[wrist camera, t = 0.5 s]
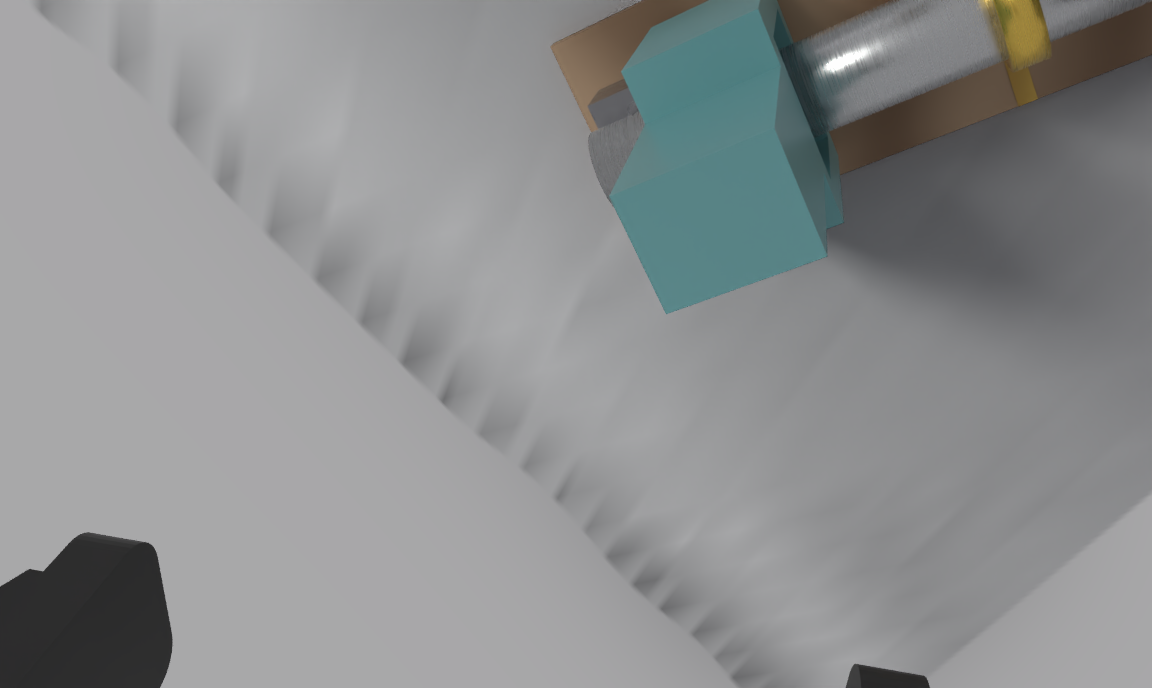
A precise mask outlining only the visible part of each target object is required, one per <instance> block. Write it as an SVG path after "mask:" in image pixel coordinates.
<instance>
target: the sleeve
mask: <svg viewBox="0 0 1152 688" xmlns="http://www.w3.org/2000/svg"><path fill="white" fill-rule="evenodd" d="M793 43H794V42H793V40H792V37H791V34H790V32H789V29H788V27H787V24H786V22H785V19H784V17H783V14H782V12H781V9H780V7H779V4H778V2H777V0H708V1H706V2H704V3H702V4H700V5H698V6H696V7H694V8H691V9H689V10H687V11H685V12H683V13H681V14H679V15H676V16H674V17H672V18H670V19H668V20H666V21H664V22H662V23H659V24H657V25H655V26H653V27H651V29H650V30H649V31H648V33H647V34H646V36H645V37H644V39H643V40H642V42H641V43H640V45H639V46H638V47H637V49H636V50H635V52H634V53H633V55H632V56H631V58H630V59H629V61H628V62H627V64H626V65H625V66H624V68H623V69H622V71H621V73H622V75H623V77H624V79H625V81H626V84H627V86H628V88H629V90H630V92H631V95H632V97H633V99H634V101H635V103H636V105H637V108H638V110H639V112H640V114H641V116H642V118H643V121H644V123H645V126H644V128H643V130H642V132H641V134H640V136H639V138H638V140H637V142H636V144H635V146H634V148H633V150H632V152H631V154H630V156H629V158H628V160H627V162H626V164H625V166H624V168H623V170H622V172H621V174H620V176H619V178H618V180H617V182H616V184H615V186H614V188H613V190H612V192H611V194H610V196H609V197H610V199H611V201H612V204H613V206H614V208H615V210H616V212H617V214H618V216H619V218H620V220H621V222H622V224H623V226H624V228H625V230H626V232H627V234H628V236H629V239H630V241H631V243H632V245H633V247H634V249H635V251H636V253H637V255H638V257H639V259H640V261H641V263H642V265H643V267H644V269H645V272H646V274H647V276H648V278H649V280H650V282H651V284H652V286H653V288H654V290H655V292H656V294H657V296H658V298H659V300H660V302H661V304H662V307H663V309H664V311H665V313H666V314H668V313H671V312H674V311H677V310H679V309H682V308H685V307H688V306H691V305H693V304H696V303H699V302H702V301H704V300H707V299H710V298H713V297H716V296H718V295H721V294H724V293H727V292H730V291H732V290H735V289H738V288H741V287H744V286H746V285H749V284H752V283H755V282H757V281H760V280H763V279H766V278H769V277H771V276H774V275H777V274H780V273H783V272H785V271H788V270H791V269H794V268H797V267H799V266H802V265H805V264H808V263H810V262H813V261H816V260H819V259H822V258H824V257H827V234H826V229H828V228H831V227H834V226H837V225H839V224H842V223H844V216H843V205H842V193H841V182H840V171H839V159H838V154H837V151H836V149H835V146H834V143H833V141H832V138H831V136H830V133H829V132H827V133H824V134H822V135H819V136H817V137H813V135H812V132H811V130H810V127H809V125H808V122H807V120H806V117H805V115H804V112H803V110H802V107H801V105H800V102H799V100H798V97H797V95H796V92H795V90H794V87H793V85H792V82H791V80H790V77H789V75H788V72H787V70H786V67H785V65H784V62H783V60H782V57H781V55H780V52H779V49H782V48H784V47H786V46H788V45H791V44H793Z"/></svg>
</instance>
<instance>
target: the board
mask: <svg viewBox="0 0 1152 688" xmlns="http://www.w3.org/2000/svg"><path fill="white" fill-rule="evenodd" d="M706 1H708V0H643V1H641V2H639V3H636V4H634V5H632V6H630V7H628V8H626V9H624V10H622V11H620V12H618V13H616V14H614V15H612V16H610V17H607V18H605V19H603V20H601V21H599V22H597V23H595V24H593V25H591V26H589V27H587V28H585V29H583V30H581V31H578V32H576V33H574V34H572V35H570V36H568V37H566V38H564V39H562V40H560V41H558V42H556V43H554V44H553V45H552V46H551V49H552V51H553V53H554V55H555V57H556V60H557V62H558V64H559V66H560V68H561V70H562V72H563V74H564V76H565V78H566V80H567V82H568V84H569V87H570V89H571V91H572V93H573V95H574V97H575V99H576V101H577V103H578V105H579V107H580V109H581V112H582V114H583V116H584V118H585V120H586V122H587V124H588V126H589V128H590V130H591V132H593V131H595V130H598V128H597V125H596V123H595V121H594V119H593V117H592V115H591V113H590V111H589V109H588V107H587V106H588V104H589V103H590V102H591V100H592V99H593V98H594V96H595V95H596V93H597V92H598V91H599V90H600V89H602V88H604V87H606V86H609V85H611V84H613V83H615V82H617V81H619V80H622V79H624V77H623V75H622V73H621V71H622V69H623V68H624V66H625V65H626V64H627V62H628V61H629V59H630V58H631V56H632V55H633V53H634V52H635V50H636V49H637V47H638V46H639V45H640V43H641V42H642V40H643V39H644V37H645V36H646V34H647V33H648V31H649V30H650V29H651V27H653V26H655V25H657V24H659V23H662V22H664V21H666V20H668V19H670V18H672V17H674V16H676V15H679V14H681V13H683V12H685V11H687V10H689V9H691V8H694V7H696V6H698V5H700V4H702V3H704V2H706ZM888 1H891V0H777V2H778V4H779V7H780V9H781V12H782V14H783V17H784V19H785V22H786V24H787V27H788V29H789V32H790V34H791V37H792V40H793V42H794V43H795V42H797V41H800V40H802V39H804V38H807V37H809V36H811V35H813V34H816V33H818V32H820V31H822V30H825V29H827V28H829V27H832V26H834V25H836V24H838V23H841V22H843V21H845V20H847V19H850V18H852V17H854V16H857V15H859V14H861V13H863V12H866V11H868V10H870V9H872V8H875V7H877V6H879V5H882V4H884V3H886V2H888ZM1050 43H1051V52H1052V53H1051V58H1049V59H1047V60H1044V61H1042V62H1039V63H1036V64H1034V65H1031V66H1029V67H1026V68H1024V69H1021V70H1019V71H1016V72H1014V73H1012V72H1011V71H1010V69H1009V67H1008V66H1007V64H1006V62H1005V61H1003V62H1000V63H998V64H995V65H993V66H990V67H988V68H985V69H983V70H981V71H978V72H976V73H973V74H971V75H968V76H966V77H963V78H961V79H958V80H956V81H953V82H951V83H948V84H946V85H943V86H941V87H938V88H936V89H933V90H931V91H928V92H926V93H923V94H921V95H918V96H916V97H914V98H911V99H909V100H906V101H904V102H901V103H899V104H896V105H894V106H891V107H889V108H886V109H884V110H881V111H879V112H876V113H874V114H871V115H869V116H866V117H864V118H861V119H859V120H856V121H854V122H852V123H849V124H847V125H844V126H842V127H839V128H837V129H834V130H832V131H829V133H830V136H831V138H832V141H833V143H834V146H835V149H836V151H837V154H838V159H839V171H840V175H842V174H844V173H847V172H849V171H852V170H855V169H857V168H860V167H862V166H865V165H868V164H870V163H873V162H875V161H878V160H881V159H883V158H886V157H888V156H891V155H893V154H896V153H899V152H901V151H904V150H906V149H909V148H912V147H914V146H917V145H919V144H922V143H925V142H927V141H930V140H932V139H935V138H938V137H940V136H943V135H945V134H948V133H950V132H953V131H956V130H958V129H961V128H963V127H966V126H969V125H971V124H974V123H976V122H979V121H982V120H984V119H987V118H989V117H992V116H995V115H997V114H1000V113H1002V112H1005V111H1007V110H1010V109H1013V108H1015V107H1018V106H1021V105H1024V104H1027V103H1029V102H1032V101H1034V100H1037V99H1039V98H1041V97H1044V96H1046V95H1049V94H1052V93H1054V92H1057V91H1059V90H1062V89H1064V88H1067V87H1070V86H1072V85H1075V84H1077V83H1080V82H1083V81H1085V80H1088V79H1090V78H1093V77H1096V76H1098V75H1101V74H1103V73H1106V72H1109V71H1111V70H1114V69H1116V68H1119V67H1121V66H1124V65H1127V64H1129V63H1132V62H1134V61H1137V60H1140V59H1142V58H1145V57H1147V56H1150V55H1152V2H1149V3H1147V4H1144V5H1142V6H1139V7H1137V8H1134V9H1132V10H1129V11H1127V12H1124V13H1122V14H1119V15H1117V16H1114V17H1112V18H1110V19H1107V20H1105V21H1102V22H1100V23H1097V24H1095V25H1092V26H1090V27H1087V28H1085V29H1082V30H1080V31H1077V32H1075V33H1072V34H1070V35H1067V36H1065V37H1062V38H1060V39H1057V40H1055V41H1052V42H1050Z"/></svg>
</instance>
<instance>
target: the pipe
mask: <svg viewBox="0 0 1152 688" xmlns="http://www.w3.org/2000/svg"><path fill="white" fill-rule="evenodd" d="M1149 2H1152V0H891V1H888V2H886V3H884V4H882V5H879V6H877V7H875V8H872V9H870V10H868V11H866V12H863V13H861V14H859V15H857V16H854V17H852V18H850V19H847V20H845V21H843V22H841V23H838V24H836V25H834V26H832V27H829V28H827V29H825V30H822V31H820V32H818V33H816V34H813V35H811V36H809V37H807V38H804V39H802V40H800V41H797V42H795V43H793V44H791V45H788V46H786V47H784V48H782V49H779V52H780V55H781V57H782V60H783V62H784V65H785V67H786V70H787V72H788V75H789V77H790V80H791V82H792V85H793V87H794V90H795V92H796V95H797V97H798V100H799V102H800V105H801V107H802V110H803V112H804V115H805V117H806V120H807V122H808V125H809V127H810V130H811V132H812V135H813V137H817V136H819V135H822V134H824V133H827V132H829V131H832V130H834V129H837V128H839V127H842V126H844V125H847V124H849V123H852V122H854V121H856V120H859V119H861V118H864V117H866V116H869V115H871V114H874V113H876V112H879V111H881V110H884V109H886V108H889V107H891V106H894V105H896V104H899V103H901V102H904V101H906V100H909V99H911V98H914V97H916V96H918V95H921V94H923V93H926V92H928V91H931V90H933V89H936V88H938V87H941V86H943V85H946V84H948V83H951V82H953V81H956V80H958V79H961V78H963V77H966V76H968V75H971V74H973V73H976V72H978V71H981V70H983V69H985V68H988V67H990V66H993V65H995V64H998V63H1000V62H1003V61H1005V62H1006V64H1007V66H1008V67H1009V69H1010V71H1011V72H1012V73H1014V72H1016V71H1019V70H1021V69H1024V68H1026V67H1029V66H1031V65H1034V64H1036V63H1039V62H1042V61H1044V60H1047V59H1049V58H1051V53H1052V52H1051V43H1050V42H1052V41H1055V40H1057V39H1060V38H1062V37H1065V36H1067V35H1070V34H1072V33H1075V32H1077V31H1080V30H1082V29H1085V28H1087V27H1090V26H1092V25H1095V24H1097V23H1100V22H1102V21H1105V20H1107V19H1110V18H1112V17H1114V16H1117V15H1119V14H1122V13H1124V12H1127V11H1129V10H1132V9H1134V8H1137V7H1139V6H1142V5H1144V4H1147V3H1149ZM587 107H588V109H589V111H590V113H591V115H592V117H593V119H594V121H595V123H596V125H597V128H598V130H595V131H593V132H591V133H590V135H589V151H590V156H591V160H592V164H593V167H594V170H595V173H596V175H597V178H598V180H599V182H600V185H601V187H602V189H603V191H604V193H605V194H606V196H607V198H608V199H609V201H610V202H611V204H612V201H611V199H610V197H609V196H610V194H611V192H612V190H613V188H614V186H615V184H616V182H617V180H618V178H619V176H620V174H621V172H622V170H623V168H624V166H625V164H626V162H627V160H628V158H629V156H630V154H631V152H632V150H633V148H634V146H635V144H636V142H637V140H638V138H639V136H640V134H641V132H642V130H643V128H644V126H645V123H644V121H643V118H642V116H641V114H640V112H639V110H638V108H637V105H636V103H635V101H634V99H633V97H632V95H631V92H630V90H629V88H628V86H627V84H626V81H625V79H622V80H619V81H617V82H615V83H613V84H611V85H609V86H606V87H604V88H602V89H600V90H599V91H598V92H597V93H596V95H595V96H594V98H593V99H592V100H591V102H590V103H589V104H588V106H587ZM612 205H613V204H612Z"/></svg>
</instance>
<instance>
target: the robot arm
mask: <svg viewBox="0 0 1152 688" xmlns="http://www.w3.org/2000/svg"><path fill="white" fill-rule="evenodd" d="M171 653H172V632H171V627H170V621H169V616H168V610H167V605H166V600H165V594H164V590H163V584H162V578H161V573H160V568H159V562H158V557H157V553H156V551H155V549H154V547H153V546H152V545H151V544H149V543H146V542H140V541H135V540H129V539H123V538H117V537H112V536H106V535H100V534H95V533H89V532H88V533H83V534H80V535H78V536H77V537H76V538H74V539H73V540H72V541H71V542H70V543H69V544H68V545H67V546H66V547H65V549H63V551H62V552H61V553H60V554H59V555H58V556H57V557H56V558H55V559H54V560H53V562H52V563H51V564H50V565H49V566H48V567H47V568H46V569H45V570H44V571H43V572H42V571H37V570H32V569H29V570H27V571H25V572H24V573H22V574H20V575H19V576H17V577H15V578H14V579H12V580H10V581H9V582H7V583H6V584H4V585H2V586H1V587H0V688H160V686H161V684H162V682H163V680H164V678H165V675H166V673H167V669H168V667H169V663H170V658H171ZM846 688H930V687H929V683H928V680H927V678H926V677H925V676H922V675H916V674H910V673H905V672H899V671H893V670H888V669H882V668H876V667H870V666H865V665H859V664H854V665H853V667H852V669H851V671H850V674H849V678H848V681H847V685H846Z"/></svg>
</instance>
